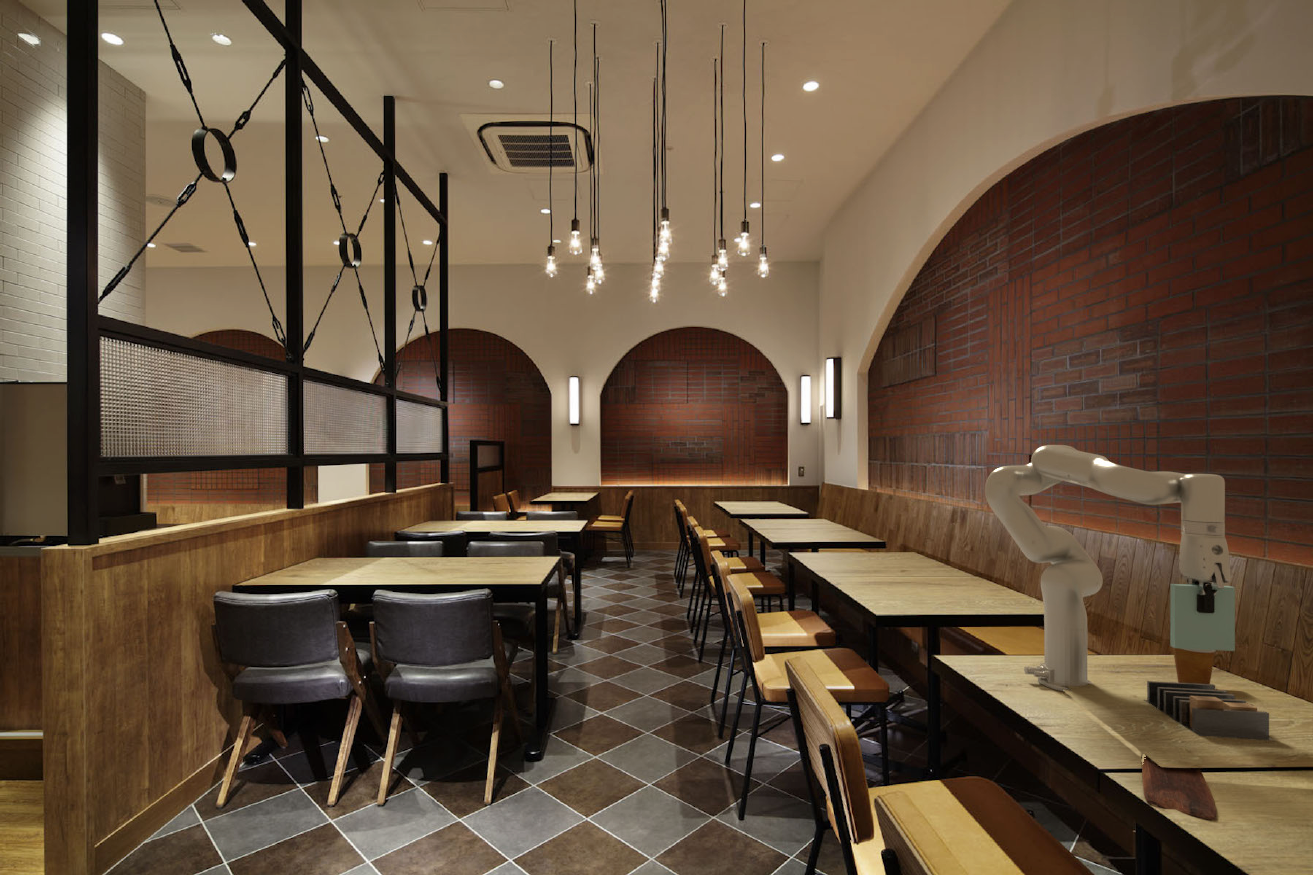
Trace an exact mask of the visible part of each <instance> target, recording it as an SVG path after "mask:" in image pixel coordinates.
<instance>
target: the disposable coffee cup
mask: <svg viewBox="0 0 1313 875" xmlns="http://www.w3.org/2000/svg"><path fill="white" fill-rule="evenodd" d="M1172 650H1173V657H1174V664H1175V671H1176V675H1177V676H1176V677H1177V683H1197V684H1211V679H1212V673H1213V667H1214V661H1215V660H1214V659H1215V653H1216V652H1217V650H1203V649H1182V648H1174V647H1172Z"/></svg>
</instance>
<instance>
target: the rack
mask: <svg viewBox="0 0 1313 875" xmlns="http://www.w3.org/2000/svg"><path fill="white" fill-rule="evenodd" d="M1146 682H1147V683H1146V684H1147V686H1146V687H1147V690H1146V692H1147V699H1143V701H1144V702H1147V703H1148V704H1149V705H1150V706H1152V707H1153V708H1156V709H1157V710H1158V711H1160V712H1161V713H1163V714H1164V715H1166V716H1168V717H1169V718H1171V719H1172V720H1174V721H1175V722H1177V723H1178V724H1180V725H1182V726H1183V727H1185V728H1187V730H1189V731H1191V732H1192V733H1194V734H1195V735H1197V736H1198V737H1207V738H1209V737H1211V738H1223V739H1224V738H1227V739H1241V740H1242V739H1243V740H1258V741H1259V740H1260V741H1275V739H1274V738H1271V737H1270V713H1269V712H1268V711H1259V710H1257V711H1244V710H1226V709H1208V708H1192V727H1191V726H1190V696H1206V697H1216V698H1218V699H1220V700H1222V701H1223V702H1231V703H1247V701H1246V700H1244V699H1236V696H1235V694H1233V693H1228V691H1227V690H1224V689H1223V690H1222V689H1220V690H1219V689H1216V685H1215V684H1212V683H1210V684H1197V683H1178V681H1176V682H1174V681H1172V682H1171V681H1157V680H1156V681H1153V680H1147V681H1146ZM1249 704H1250V705H1252V706H1254V705H1253V704H1252V703H1249Z"/></svg>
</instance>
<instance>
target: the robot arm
mask: <svg viewBox="0 0 1313 875" xmlns="http://www.w3.org/2000/svg"><path fill="white" fill-rule="evenodd" d="M1061 482H1067V483H1071V484H1074V485H1079V486H1083V487H1087V488H1090V489H1092V490H1094V491H1097V492H1101V493H1104V494H1106V495H1109V496H1113V497H1117V498H1119V499H1124V500H1127V501H1132V502H1134V503H1139V504H1143V505H1144V504H1145V505H1152V506H1153V505H1155V506H1156V505H1166V504H1177V503H1179V504H1180V512H1181V513H1180V514H1181V515H1180V517H1181V518H1180V520H1181V521H1180V525H1181V526H1180V535H1181V538H1180V545H1179V556H1178V557H1179V558H1178V562H1179V563H1178V564H1179V566H1178V567H1179V568H1178V569H1179V572H1180V574H1182V576H1181V577H1182V579H1183V580H1185V581H1186V583H1187V585H1199V594H1197V612H1199V613H1214V610H1215V596H1216V592H1217V590H1220V589H1223V588H1224V586H1225V585H1224V584H1225V583H1226V584H1227V583H1229V582H1230V581H1231V566H1230V565H1231V564H1230V553H1229V552H1230V550H1229V546H1228V542H1227V539H1226V538H1227V537H1226V531H1225V528H1226V526H1225V525H1226V524H1225V520H1226V519H1225V516H1226V515H1225V512H1226V511H1225V509H1226V508H1225V507H1226V501H1225V500H1226V497H1225V496H1226V492H1225V491H1226V490H1225V489H1226V482H1225V478H1224V477H1223V476H1221V475H1219V474H1215V473H1214V474H1213V473H1181V472H1175V471H1174V472H1173V471H1169V470H1168V471H1166V470H1165V471H1147V470H1142V469H1138V468H1132V467H1129V466H1125V465H1120V464H1117V463H1114V462H1112V461H1109V460H1108V458H1107V457H1106V456H1103V455H1100V454H1096V453H1091V452H1086V451H1081V450H1077V449H1076V448H1075V447H1073V446H1070V445H1065V444H1046V445H1042V446H1039V447H1038V448H1037V449H1035V451H1034V452H1033V453H1032V456H1031V459H1030V462H1029V463H1027V464H1024V465H1023V464H1022V465H1021V464H1020V465H1016V464H1015V465H1003V466H1000V467H998V468H996V469H994V470H993V471H991V473H990V474H989V475H988V477H987V479H986V481H985V485H984V495H985V496H984V497H985V500H986V503H987V504H988V506H989V508H990V510H992V512H993V513H994V515H995V516H996V517H997V518H998V520H999V522H1001V524H1002V525H1003V527H1004V528H1005V529H1006V531H1007V532H1008V534H1009V535H1010V536H1011V538H1012V539H1013V540H1014V543H1016V545H1017V547H1018V548H1019V549H1020V551H1021V552H1022V553H1023V555H1024V556H1025V557H1026V558H1027V560H1029V561H1031V562H1032V563H1036V564H1043V563H1044V564H1045V563H1050V564H1051V565H1050V566H1048V567H1046V568H1045V570H1043V572H1042V574H1041V577H1040V590H1041V594H1042V600H1043V601H1042V602H1043V616H1044V617H1043V621H1044V622H1043V623H1044V625H1043V627H1044V628H1043V629H1044V636H1043V637H1044V640H1043V642H1044V646H1043V647H1044V652H1043V653H1044V660H1043V661H1044V662H1040V663H1039V664H1040V665H1037V666H1036V667H1034V666H1024V669H1023V671H1024V674H1025V675H1033V676H1034V677H1035V678H1037V681H1038V683H1039V684H1041V685H1042V686H1044V687H1045V688H1046V687H1047V688H1049V689H1051V690H1056V691H1061V692H1065V691H1072V689H1071V688H1070V687H1084V686H1087V685H1088V684H1093V681H1091V680H1089V679H1088V678H1089V677H1088V672H1089V671H1088V616H1087V615H1088V614H1087V609H1086V607H1085V603H1084V597H1085V598H1086V597H1089V596H1093V595H1095V594H1097V593H1098V592H1099V591H1100V590H1101V589H1102V586H1103V583H1104V582H1103V581H1104V580H1103V574H1102V572H1101V571H1100V568H1099V567H1098V565H1097V563H1095V562H1094V560H1093V559H1092V558H1091V557H1090V555H1089V554H1088V552H1087V551H1086V549H1085V548H1084V547H1083V546H1082V545H1081V543H1079V541H1078V539H1077V538H1076V537H1075V536H1074V535H1073V534H1072V533H1071V532H1070V531H1068V530H1067V529H1065V528H1063V527H1061V526H1057V525H1046V524H1044V522H1043V521H1042V520H1041V519H1040V518H1039V517H1038V515H1037V514H1036V512H1035V511H1034V509H1032V508H1031V506H1029V505H1028V504H1027V503H1026V502H1025V501H1024V500H1023V499H1022V498H1021V497H1022V496H1032V495H1036V494H1038V493H1041V492H1044V491H1046V490H1047V489H1049V488H1051V487H1053V486H1055V485H1057V484H1059V483H1061ZM1020 496H1021V497H1020ZM1206 585H1207V586H1206Z"/></svg>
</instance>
